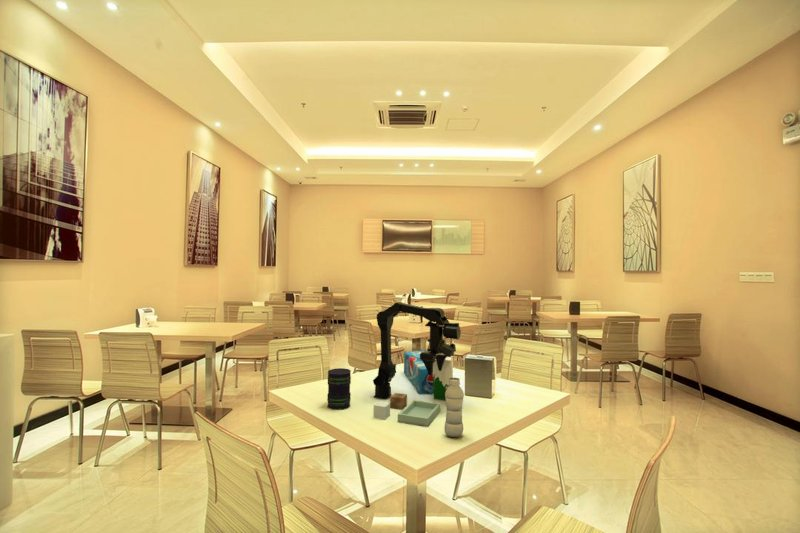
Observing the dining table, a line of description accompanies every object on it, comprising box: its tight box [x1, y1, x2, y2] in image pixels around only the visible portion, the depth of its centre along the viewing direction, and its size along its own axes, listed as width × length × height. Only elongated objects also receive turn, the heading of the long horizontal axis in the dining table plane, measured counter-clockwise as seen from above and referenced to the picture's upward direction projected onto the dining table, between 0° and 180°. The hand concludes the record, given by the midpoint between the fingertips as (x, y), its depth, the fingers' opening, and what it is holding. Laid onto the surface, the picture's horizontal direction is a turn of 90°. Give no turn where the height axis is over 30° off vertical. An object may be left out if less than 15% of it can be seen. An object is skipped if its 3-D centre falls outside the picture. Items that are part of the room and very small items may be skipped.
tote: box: [397, 399, 442, 428], centre depth 157 cm, size 12×18×3 cm, turn 158°
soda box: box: [403, 350, 434, 395], centre depth 206 cm, size 40×14×13 cm, turn 10°
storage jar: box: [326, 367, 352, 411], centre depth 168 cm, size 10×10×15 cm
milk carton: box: [433, 356, 454, 401], centre depth 181 cm, size 9×9×20 cm
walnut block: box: [389, 392, 408, 411], centre depth 168 cm, size 6×6×5 cm
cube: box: [373, 401, 391, 420], centre depth 156 cm, size 5×5×5 cm
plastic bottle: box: [443, 377, 465, 438], centre depth 138 cm, size 6×7×20 cm
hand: (435, 372), depth 171 cm, fingers open, 9 cm apart
